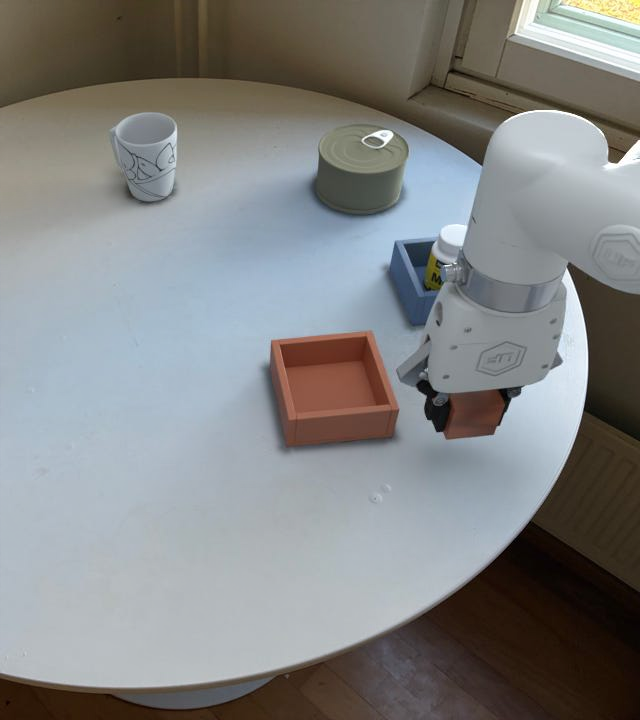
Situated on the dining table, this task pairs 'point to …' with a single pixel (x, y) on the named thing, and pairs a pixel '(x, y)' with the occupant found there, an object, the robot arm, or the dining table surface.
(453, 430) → the block
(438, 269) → the supplement bottle
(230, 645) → the dining table surface
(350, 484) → the dining table surface
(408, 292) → the blue bin
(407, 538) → the dining table surface
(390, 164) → the can
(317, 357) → the terracotta bin
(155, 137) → the mug
